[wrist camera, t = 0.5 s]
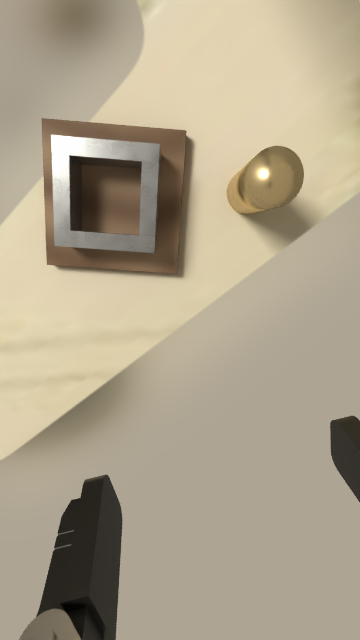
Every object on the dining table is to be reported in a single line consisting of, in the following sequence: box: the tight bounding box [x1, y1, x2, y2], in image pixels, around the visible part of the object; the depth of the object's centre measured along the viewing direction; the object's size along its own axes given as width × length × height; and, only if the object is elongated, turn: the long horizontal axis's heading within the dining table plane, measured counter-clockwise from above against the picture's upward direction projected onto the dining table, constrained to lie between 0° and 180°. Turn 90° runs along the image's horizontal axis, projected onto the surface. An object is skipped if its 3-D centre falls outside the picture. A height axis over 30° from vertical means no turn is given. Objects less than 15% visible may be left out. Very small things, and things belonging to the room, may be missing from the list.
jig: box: [42, 118, 186, 274], centre depth 32 cm, size 14×14×6 cm
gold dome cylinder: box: [227, 146, 304, 214], centre depth 30 cm, size 4×4×10 cm
